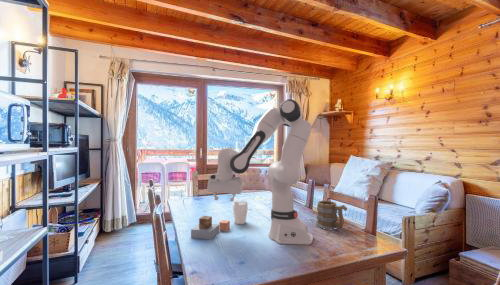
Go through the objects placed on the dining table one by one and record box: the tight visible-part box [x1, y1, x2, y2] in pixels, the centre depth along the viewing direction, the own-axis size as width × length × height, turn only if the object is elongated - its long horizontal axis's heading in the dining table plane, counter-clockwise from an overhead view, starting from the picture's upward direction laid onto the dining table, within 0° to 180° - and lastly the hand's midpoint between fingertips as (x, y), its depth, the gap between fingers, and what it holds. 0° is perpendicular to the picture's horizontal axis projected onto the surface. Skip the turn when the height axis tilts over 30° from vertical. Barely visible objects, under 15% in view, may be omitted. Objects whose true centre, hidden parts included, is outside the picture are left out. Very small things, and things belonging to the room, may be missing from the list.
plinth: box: [190, 223, 220, 240], centre depth 125 cm, size 11×11×4 cm
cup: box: [232, 200, 249, 225], centre depth 146 cm, size 9×9×12 cm
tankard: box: [315, 200, 348, 230], centre depth 137 cm, size 20×13×15 cm, turn 27°
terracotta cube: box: [218, 219, 231, 232], centre depth 133 cm, size 4×4×4 cm
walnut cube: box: [198, 215, 213, 229], centre depth 125 cm, size 5×5×5 cm
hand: (224, 200), depth 134 cm, fingers open, 8 cm apart
